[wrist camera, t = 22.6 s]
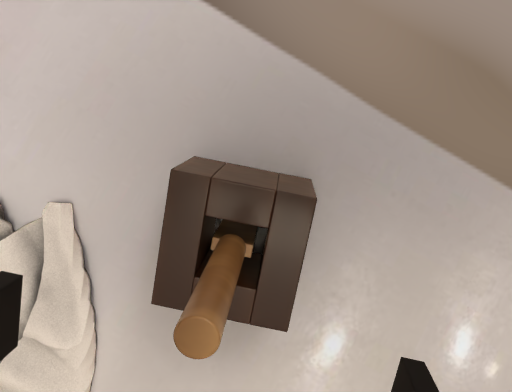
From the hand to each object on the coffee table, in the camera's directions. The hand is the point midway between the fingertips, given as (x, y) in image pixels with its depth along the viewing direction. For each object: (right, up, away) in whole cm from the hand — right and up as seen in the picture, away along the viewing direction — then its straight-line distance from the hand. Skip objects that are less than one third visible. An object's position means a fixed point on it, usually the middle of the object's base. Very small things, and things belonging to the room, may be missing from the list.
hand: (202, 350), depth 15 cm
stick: (+1, +3, +15) cm, 16 cm away
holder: (+1, +3, +15) cm, 16 cm away
